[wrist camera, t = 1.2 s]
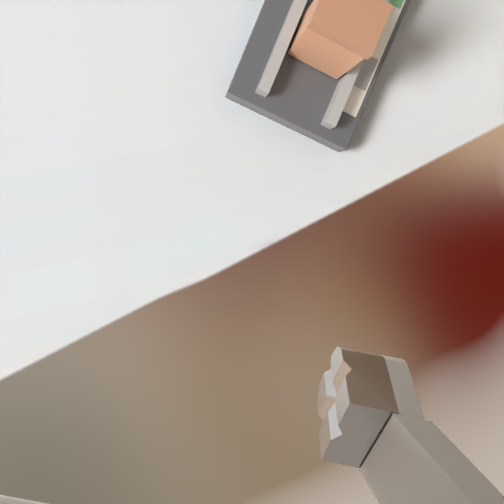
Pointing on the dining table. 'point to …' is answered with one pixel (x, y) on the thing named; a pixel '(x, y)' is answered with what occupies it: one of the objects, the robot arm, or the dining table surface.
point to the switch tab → (339, 34)
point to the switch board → (305, 77)
